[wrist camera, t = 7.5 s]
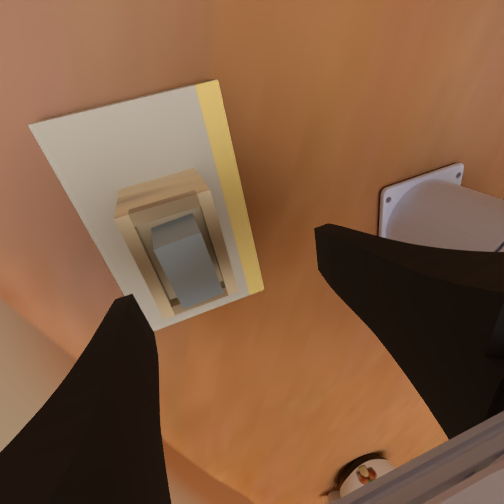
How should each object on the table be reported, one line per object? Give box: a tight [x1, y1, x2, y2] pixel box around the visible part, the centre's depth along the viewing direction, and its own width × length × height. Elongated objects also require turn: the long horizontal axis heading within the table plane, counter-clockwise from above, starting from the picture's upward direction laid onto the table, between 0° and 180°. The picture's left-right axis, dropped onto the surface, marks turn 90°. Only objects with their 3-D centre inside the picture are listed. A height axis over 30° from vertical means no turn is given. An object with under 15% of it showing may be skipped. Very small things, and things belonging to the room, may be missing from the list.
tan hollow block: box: [114, 168, 239, 319], centre depth 16 cm, size 6×4×4 cm
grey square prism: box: [151, 213, 224, 309], centre depth 14 cm, size 3×2×2 cm, turn 14°
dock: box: [28, 80, 264, 331], centre depth 19 cm, size 14×9×2 cm, turn 12°
